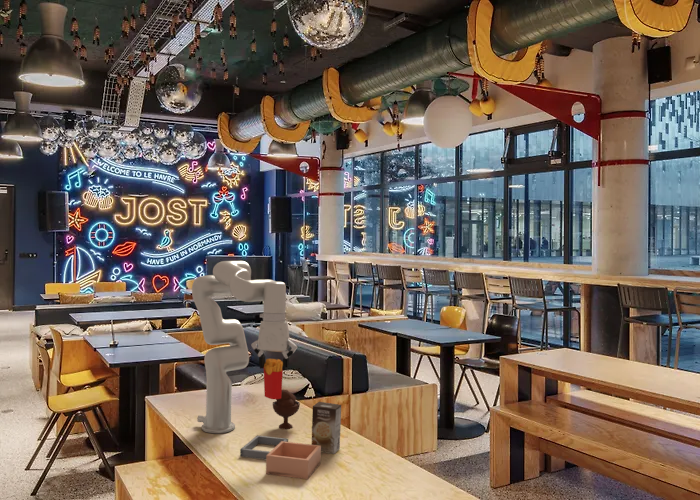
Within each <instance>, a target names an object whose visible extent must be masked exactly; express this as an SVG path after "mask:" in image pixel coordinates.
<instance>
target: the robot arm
mask: <svg viewBox="0 0 700 500" xmlns="http://www.w3.org/2000/svg"><path fill="white" fill-rule="evenodd" d="M251 277H252V269H251V266H250V265H249V263H248V262H246V261H244V260H222V261H220V262H219V261H218V262H217V263H216V264H215V265H214V266H213V269H212V274H207V275H202V276H199V277H197V278H195V279H194V280H193V282H192V284H191V285H192V286H191V294H192V295H191V296H192V300H193V303H194V304H195V306H196V309H197V311H198V315H199V319H200V321H199V322H200V325H201V326H200V327H201V329H202V335H203V340H204V341H205V343H206V344H207V345H211V346H218V345H225V344H229V345H228V346H219V347H213V348H211V349H208V351H207V352H206V353H205V355H204V367H205V373H206V374H205V375H206V404H205V405H206V407H205V411H206V412H205V413H206V414H205V415H198V416H197V422H198V423H203V424H202V426H201V430H202V431H203V432H205V433H209V434H225V433H228V432H232V431H234V429H235V428H236V424H235V423H234V422H232V398H233V397H232V392H233V391H232V389H233V388H232V385H233V383H232V380H231V379H230V377H229V376H228V374H227V372H231V371H232V372H233V371H239V370H243V369H245V368H246V367H247V366H248V365H249V362H250V353H249V349H248V345H247V339H246V335H245V331H244V328H243V325H242V323H241V322H240V321H239V320H238V319H235V318H228V319H224V318H223V314H222V310H221V307H220V306H219V304H218V303H217V302H216V300H215V299H213V298H212V297H228V296H232V297H234V298H235V299H237V300H239V301H241V302H246V303H253V302H263V312H262V313H260V314H259V318H262V320H261V321H260V324H259V332H258V338H257V340H255V341H253V342H252V343H251V344H250V345H251V348H252V349H253V351H254V352H255V354H256V355H257V357H258V366H259V369H261V370H262V369H264V364H265V362H266V355H265V353H266V352H277V353H281V354H282V356H283V359H282V362H283V366H282V370H283V371H286V370H288V368H289V366H290V357H291V356H292V355H293V354H294V353H295V352H296V350H297V349H298V345H296V344H295V342H293V341H292V340H290V330H289V324H288V321H286V313H287V312H286V310H287V309H286V308H287V307H286V304H287V303H286V302H287V298H286V297H287V296H286V295H287V294H286V293H287V287H286V283H285V282H283V281H276V280H273V279H252V278H251ZM290 347H291V349H290ZM289 349H290V350H289Z"/></svg>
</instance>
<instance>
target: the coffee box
mask: <svg viewBox="0 0 700 500" xmlns="http://www.w3.org/2000/svg"><path fill="white" fill-rule="evenodd" d="M311 416H312V418H311V419H312V420H311V422H312V423H311V424H312V426H311V445H320V446H321V453H324V454H325V453H326V454H333V455H334V454H336V453H337V452H338V451H339V450H340V447H341V424H342V422H341V421H342V404H337V403H330V402H324V401H317V403H315V404H313V406H312V415H311Z"/></svg>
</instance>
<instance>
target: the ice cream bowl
mask: <svg viewBox="0 0 700 500" xmlns="http://www.w3.org/2000/svg"><path fill="white" fill-rule="evenodd" d="M300 404H301V403H300V401H298V400H297V397H296V395H294V394H293V393H292V392H290V391H289V390H288V389H282V393H281V399H275V400H274V401H273V402H272V408H273V411H274V413H275V414H277V416H280V417H282V418H283V422H282V423H281V424H279V425H278V429H280V430H291V429H292V428H293V425H292V424H291V423H290V422H289V417H292V416H294V415H296V414H297V412H298V411H299V409H300ZM290 428H291V429H290Z"/></svg>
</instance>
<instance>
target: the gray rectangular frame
mask: <svg viewBox="0 0 700 500" xmlns="http://www.w3.org/2000/svg"><path fill="white" fill-rule="evenodd" d="M281 441H285V442H289V438H283V437H276V436H275V437H274V436H266V435H258V434H257V435H256V436H255V437H254V438H252V439H251V440H250V441H248V442H247V443H246V444H245V445H244V446H243V447H241V448H240V451H239V454H240V455H239V457H240V458H241V457H243V458H250V459H257V460H266V455H267V454H268V453H269V452H270V451H267V450H261V449H260V450H259V449H254V448H255V447H256V446H257V445H258V444H259V445H260V444H262V445H271V446H277V445H278V444H279V443H280V442H281Z"/></svg>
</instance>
